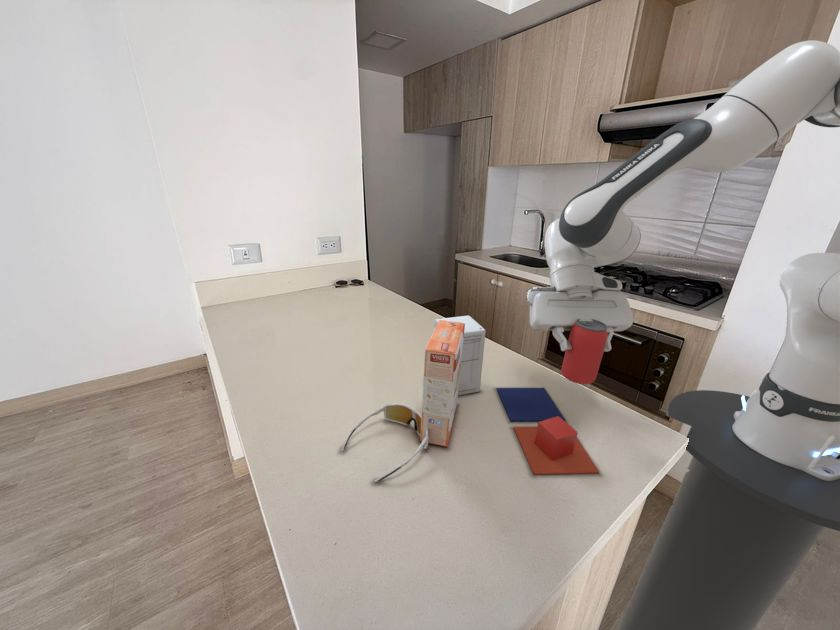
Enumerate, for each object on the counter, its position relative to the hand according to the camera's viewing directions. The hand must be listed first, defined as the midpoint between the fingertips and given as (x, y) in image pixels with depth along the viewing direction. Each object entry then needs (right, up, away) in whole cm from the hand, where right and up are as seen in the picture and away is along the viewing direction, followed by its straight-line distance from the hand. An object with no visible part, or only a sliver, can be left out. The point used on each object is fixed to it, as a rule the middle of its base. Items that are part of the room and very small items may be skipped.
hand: (586, 350), depth 67 cm
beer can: (0, -6, +3) cm, 7 cm away
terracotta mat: (-7, -19, -1) cm, 20 cm away
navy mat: (-8, -14, +12) cm, 20 cm away
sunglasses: (-39, -18, -1) cm, 43 cm away
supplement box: (-24, -11, +19) cm, 32 cm away
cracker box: (-28, -16, +6) cm, 33 cm away
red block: (-7, -19, -1) cm, 20 cm away
